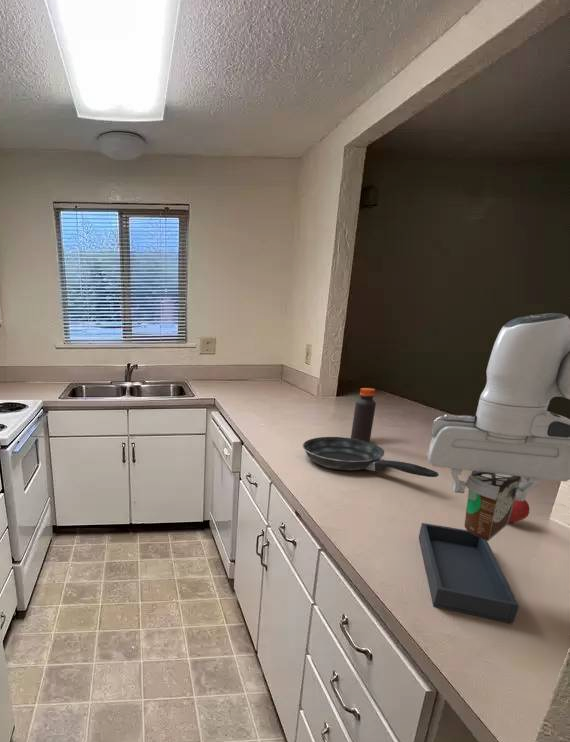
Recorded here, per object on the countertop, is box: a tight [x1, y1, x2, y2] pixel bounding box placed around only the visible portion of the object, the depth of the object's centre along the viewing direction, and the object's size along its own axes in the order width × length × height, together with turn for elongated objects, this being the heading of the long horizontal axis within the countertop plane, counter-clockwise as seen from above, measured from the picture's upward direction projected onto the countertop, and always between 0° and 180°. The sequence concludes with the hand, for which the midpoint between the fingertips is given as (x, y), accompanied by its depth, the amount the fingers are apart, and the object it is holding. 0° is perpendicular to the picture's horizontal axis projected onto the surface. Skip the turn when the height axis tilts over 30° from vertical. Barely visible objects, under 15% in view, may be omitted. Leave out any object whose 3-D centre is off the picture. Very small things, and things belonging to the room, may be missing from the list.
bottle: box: [350, 387, 377, 443], centre depth 161 cm, size 7×7×20 cm
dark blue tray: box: [418, 522, 520, 625], centre depth 85 cm, size 12×26×4 cm, turn 156°
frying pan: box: [302, 436, 439, 478], centre depth 136 cm, size 44×25×7 cm, turn 27°
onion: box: [508, 499, 530, 524], centre depth 103 cm, size 6×6×8 cm
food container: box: [464, 471, 523, 542], centre depth 76 cm, size 12×6×10 cm, turn 127°
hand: (487, 495), depth 75 cm, fingers closed on food container, 7 cm apart
